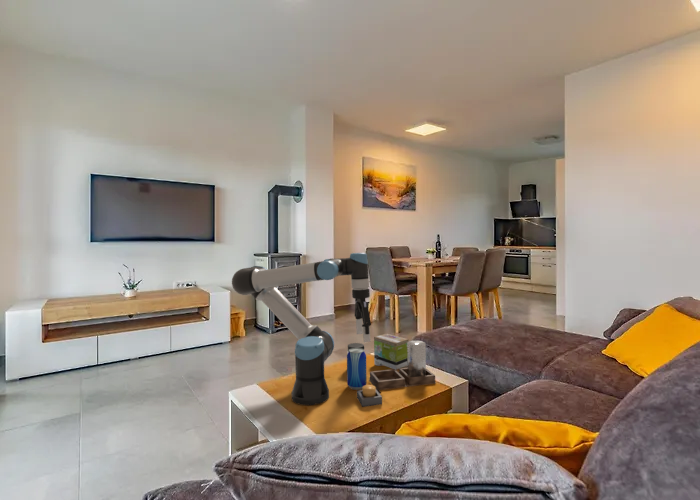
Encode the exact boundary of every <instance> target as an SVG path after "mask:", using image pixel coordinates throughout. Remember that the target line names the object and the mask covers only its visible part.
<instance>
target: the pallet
mask: <svg viewBox="0 0 700 500" xmlns="http://www.w3.org/2000/svg"><path fill="white" fill-rule="evenodd" d="M368 379H369V380H368V381H369V382H370V385H373V386H375V387H376V390H377V391H378V392H379V394H380V395H381V394H382V392H381V391H382V390H385V391H386V390H392V389H401V388H407V387H416V386H423V385H424V386H425V385H434V384H437V382H436V375H435V374H434V373H433V372H431V371H430V370H429V369H428V368H426V376H418V377H410V376H409V375H408V367H402V368H399V369H398V370H395V369H392V368H390V369H385V370H374V371H373V370H372V371H369V378H368Z"/></svg>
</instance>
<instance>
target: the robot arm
mask: <svg viewBox="0 0 700 500" xmlns="http://www.w3.org/2000/svg"><path fill="white" fill-rule="evenodd" d="M368 261H369V260H368V254H367V253H366V252H352V253H350V255H349V257H346V258H344V257H343V258H341V257H340V258H338V257H337V258H325V259H324V260H321V261H316V262H310V263H304V264H303V263H302V264H296V265H290V266H283V267H276V268H270V269H269V268H267V267H265V266H262V265H261V266H260V265H253V266H250V267H246V268H240V269H238V270H237V271H236V272H235V273H234V274H233V276H232V279H231V286H232V288H233V290H234V291H235V292H236V293H237V294H239V295H242V296H249V295H250V296H252V297H253V298H254V299H255V300H256V301H261V302H262V303H263V304H264V305H265V306H266V307H267V308H268V309H269V310H270V311H271V312H272V314H273V315H275V316H276V318H277V319H278V320H279V321H280V322H281V323H282V324H283V325H284V326H285V327H286V328H287V329H288V330H289V331H290V332H291V333H292V335H293V336H295V338H296V339H297V341H296V343H295V346H294V347H295V348H294V358H295V359H294V361H295V362H294V363H295V381H294V384H293V388H292V391H291V401H292V402H293V403H295V404H297V405H301V406H315V405H320V404H322V403H325V402H326V401H327V400H329V398H330V390H329V387H328V384H327V382H326V379H325V362H326V361H327V359H328V358H329V357H330V356H331V355H332V353H333V351H334V348H335V339H334V338H333V336H332V335H331V333H329V332H328V331H325V330H322V329H321V328H320V327H319V326H318V325H315V324H314V325H313V324H311V323H310V321H308V319H306V317H305V316H304V315H302V313H301V312H300V311H299V310H298V309H297V308H296V307H295V305H293V304H292V303H291V302H290V300H288V299H287V297H286V296H285V295H284V294H282V292H281V291H280V290H279V289H278V288H277V287H284V286H285V287H286V286H291V285H298V284H304V283H310V282H311V283H312V282H319V281H331V280H334V279H335V278H337V277H339V276H351V278H350V281H351V288H352V290H351V297H352V299H354V303H355V304H354V317H355V328H356V335H361V334H362V336H363V343H369V342H371V326H372V323H371V321H372V320H371V316H370V309H369V302H368V301H367V300H366V299H369V298H370V296H371V295H370V289H369V287H370V283H371V279H369V277H370V276H369V274H370V273H369V262H368Z"/></svg>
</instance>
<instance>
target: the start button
mask: <svg viewBox="0 0 700 500" xmlns="http://www.w3.org/2000/svg"><path fill="white" fill-rule="evenodd" d="M362 390H363V396H364V397H366V398H367V397H375V396H376V387H375V386H373V385H372V384H366V385H365V386H363V389H362Z"/></svg>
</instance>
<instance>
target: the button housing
mask: <svg viewBox="0 0 700 500" xmlns="http://www.w3.org/2000/svg"><path fill="white" fill-rule="evenodd" d="M356 400H357V401H358V403H359V404H360V406H361V408H366V407H371V406H372V407H373V406H380V405H381V406H382V405H383V397H382V395H381V394H379V392H378V391H377V390H376V396H375V397H367V398H366V397H364V396H363V389H360V390H356Z"/></svg>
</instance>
